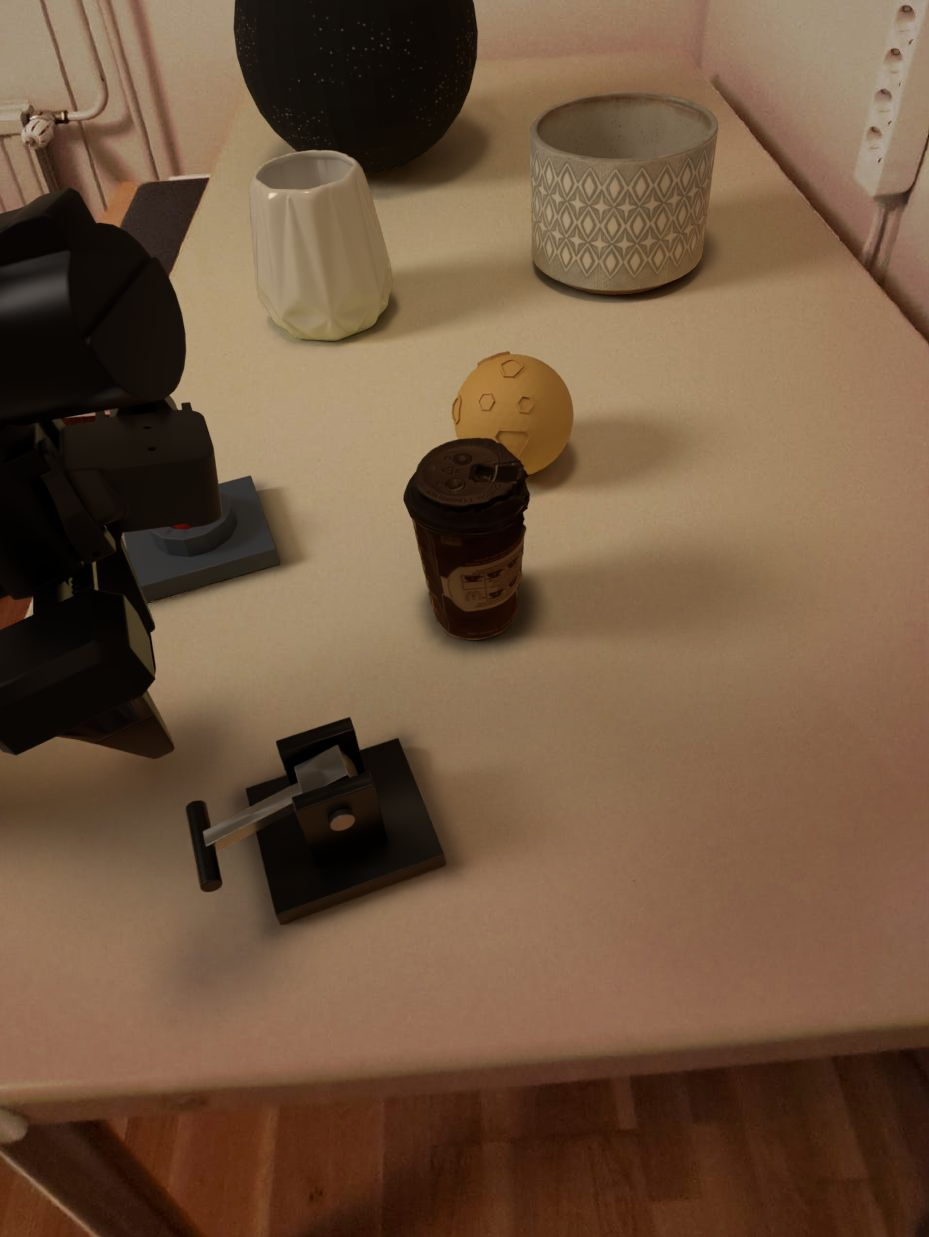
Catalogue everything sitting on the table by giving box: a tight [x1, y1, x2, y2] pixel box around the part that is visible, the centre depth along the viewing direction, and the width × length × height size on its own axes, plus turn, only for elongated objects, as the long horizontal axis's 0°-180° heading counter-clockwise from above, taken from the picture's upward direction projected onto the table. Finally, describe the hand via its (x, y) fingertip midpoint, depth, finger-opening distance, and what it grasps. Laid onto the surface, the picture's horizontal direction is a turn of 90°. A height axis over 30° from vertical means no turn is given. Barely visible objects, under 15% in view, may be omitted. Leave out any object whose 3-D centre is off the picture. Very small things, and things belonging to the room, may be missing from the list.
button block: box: [123, 474, 281, 603], centre depth 75 cm, size 11×10×4 cm
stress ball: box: [451, 350, 574, 476], centre depth 77 cm, size 10×10×10 cm
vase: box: [248, 150, 394, 342], centre depth 94 cm, size 14×14×15 cm
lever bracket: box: [244, 716, 447, 926], centre depth 54 cm, size 10×9×7 cm
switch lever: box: [185, 745, 358, 893], centre depth 53 cm, size 10×6×2 cm, turn 110°
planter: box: [529, 91, 719, 296], centre depth 99 cm, size 19×19×14 cm
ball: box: [233, 0, 479, 175], centre depth 117 cm, size 30×30×30 cm
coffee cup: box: [402, 438, 531, 641], centre depth 64 cm, size 9×8×13 cm
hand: (155, 688), depth 46 cm, fingers open, 9 cm apart
